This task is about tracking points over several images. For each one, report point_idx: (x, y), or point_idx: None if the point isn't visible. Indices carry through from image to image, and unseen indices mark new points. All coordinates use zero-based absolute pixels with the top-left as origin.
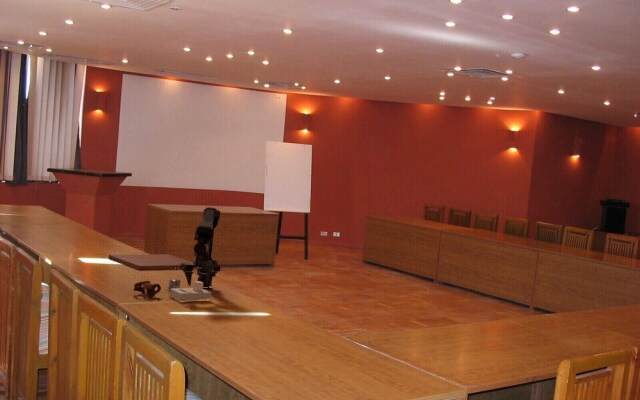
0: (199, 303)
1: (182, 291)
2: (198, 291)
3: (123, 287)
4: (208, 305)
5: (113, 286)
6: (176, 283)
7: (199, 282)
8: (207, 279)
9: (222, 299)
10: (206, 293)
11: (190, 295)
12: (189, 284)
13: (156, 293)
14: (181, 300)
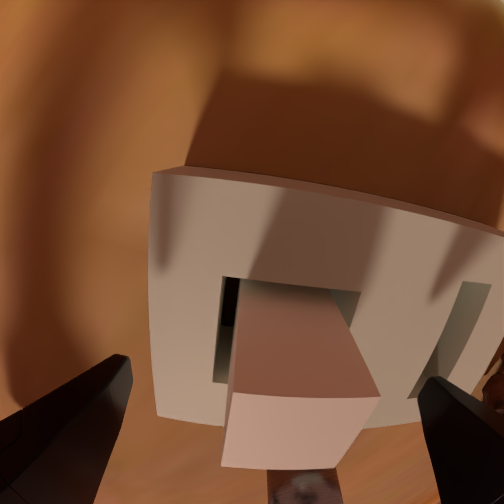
0: (374, 123)
1: (477, 321)
2: (304, 303)
3: (421, 484)
4: (333, 28)
5: (433, 486)
6: (322, 496)
7: (308, 417)
8: (88, 446)
9: (35, 214)
10: (248, 181)
11: (460, 223)
12: (453, 385)
13: (499, 379)
14: (489, 226)
